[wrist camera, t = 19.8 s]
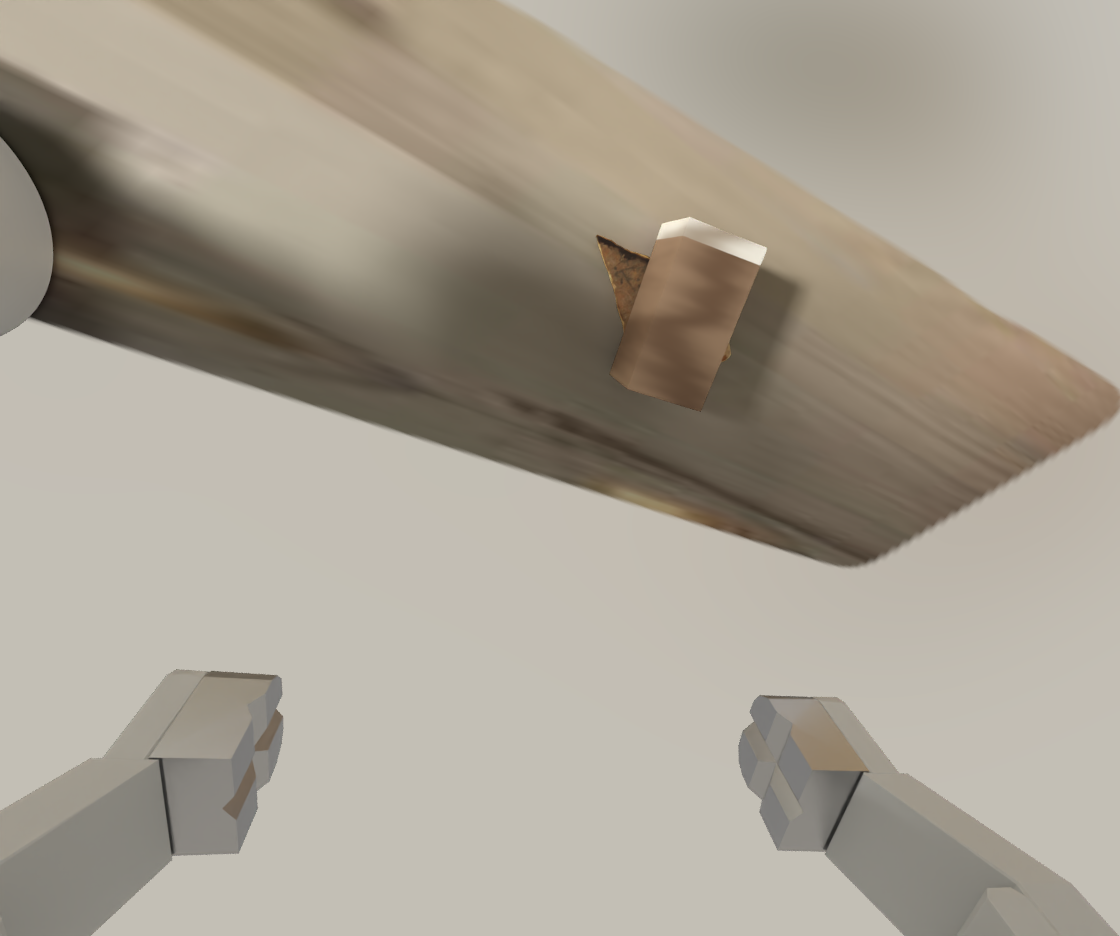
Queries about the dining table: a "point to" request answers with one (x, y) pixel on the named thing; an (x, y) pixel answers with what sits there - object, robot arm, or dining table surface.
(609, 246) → the shard
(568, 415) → the dining table surface
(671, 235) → the wooden block
